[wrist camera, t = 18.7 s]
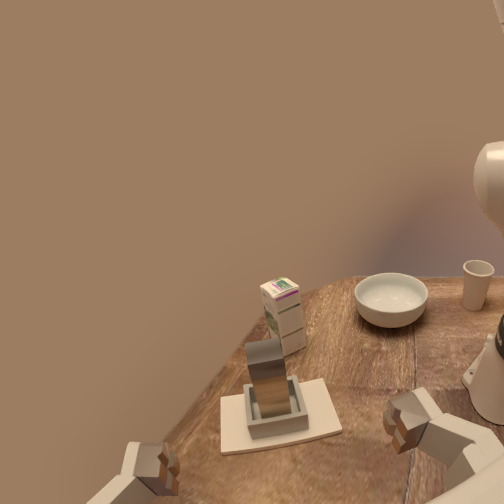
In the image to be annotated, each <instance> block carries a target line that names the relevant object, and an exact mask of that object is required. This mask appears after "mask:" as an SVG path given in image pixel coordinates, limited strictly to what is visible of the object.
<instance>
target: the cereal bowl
mask: <svg viewBox="0 0 504 504" xmlns="http://www.w3.org/2000/svg"><path fill="white" fill-rule="evenodd" d="M354 294H355V296H354V297H355V304H356V308H357V310H358V312H359V313H360V315H361V316H362V317H363V318H364V319H365V320H367V321H368V322H370V323H372V324H374V325H376V326H380V327H385V328H386V327H387V328H396V327H402V326H406V325H408V324H410V323H412V322H414V321H415V320H417V319H418V318H419V317H420V316H421V314H422V313H423V311H424V309H425V307H426V304H427V300H428V290H427V288H426V286H425V285H424V284H423V283H422V282H421V281H420V280H418V279H416V278H414V277H412V276H409V275H405V274H399V273H383V274H377V275H373V276H370V277H368V278H366V279H364V280H362V281H361V282H360V283H359V284H358V285H357V286H356V288H355V292H354Z"/></svg>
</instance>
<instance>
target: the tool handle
mask: <svg viewBox="0 0 504 504" xmlns="http://www.w3.org/2000/svg"><path fill="white" fill-rule="evenodd" d="M245 346H246V355H247V365H248V369H249V373H250V377H251V380H252V384H253V388H254V392H255V396H256V400H257V403H258V407H259V411H260V414H261V418H262V419H266V418H271V417H277V416H282V415H287V414H291V413H292V411H291V404H290V397H289V390H288V383H287V376H286V369H285V363H284V357H283V353H282V350H281V346H280V342H279V339H278V337H277V338H272V339H267V340H262V341H256V342H251V343H245Z"/></svg>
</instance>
